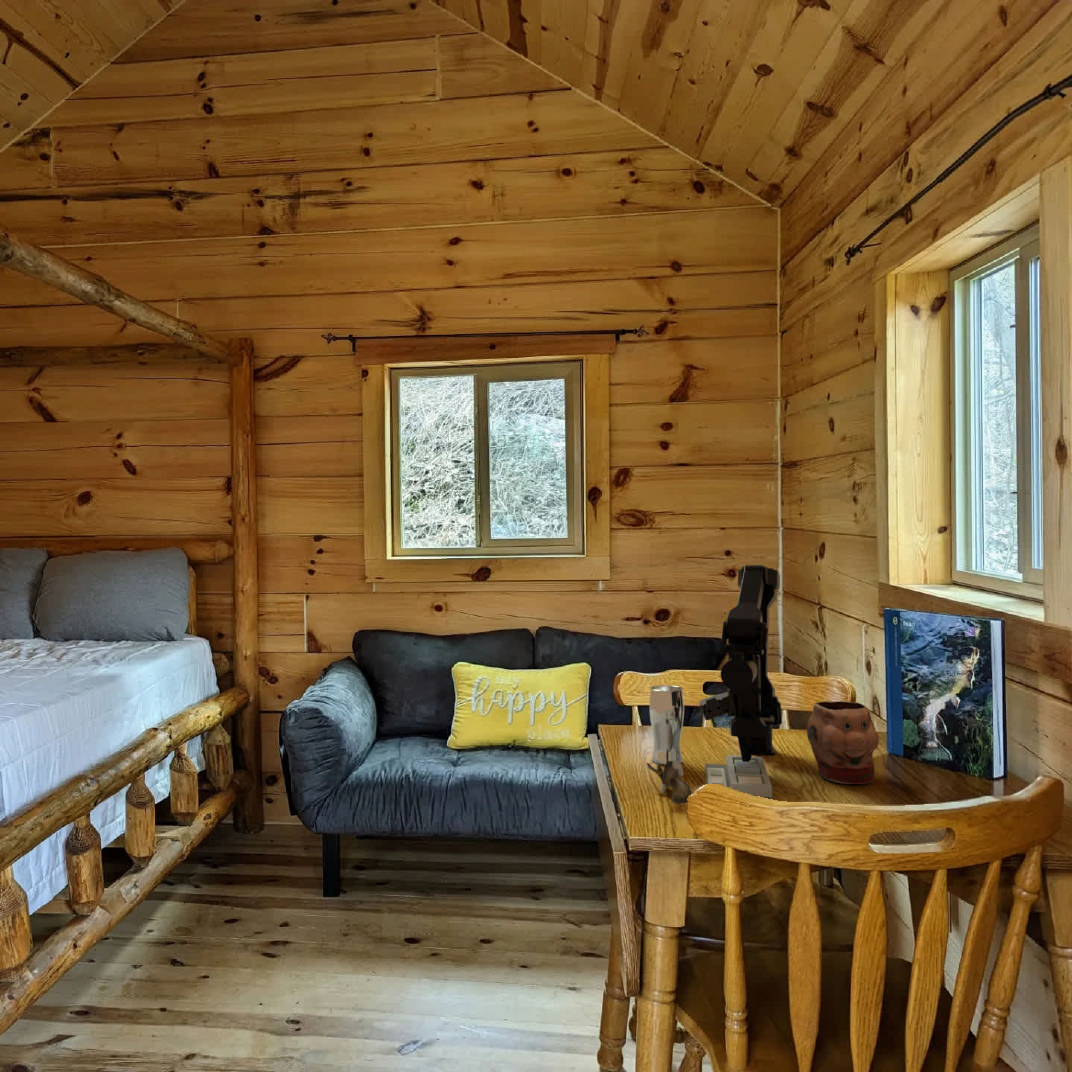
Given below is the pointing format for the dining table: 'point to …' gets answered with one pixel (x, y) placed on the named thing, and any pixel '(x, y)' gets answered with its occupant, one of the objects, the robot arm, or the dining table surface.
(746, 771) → the slate key
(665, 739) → the beer glass
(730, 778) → the keypad
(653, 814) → the dining table surface
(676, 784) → the eagle figurine
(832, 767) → the decorative planter
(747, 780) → the ivory key
